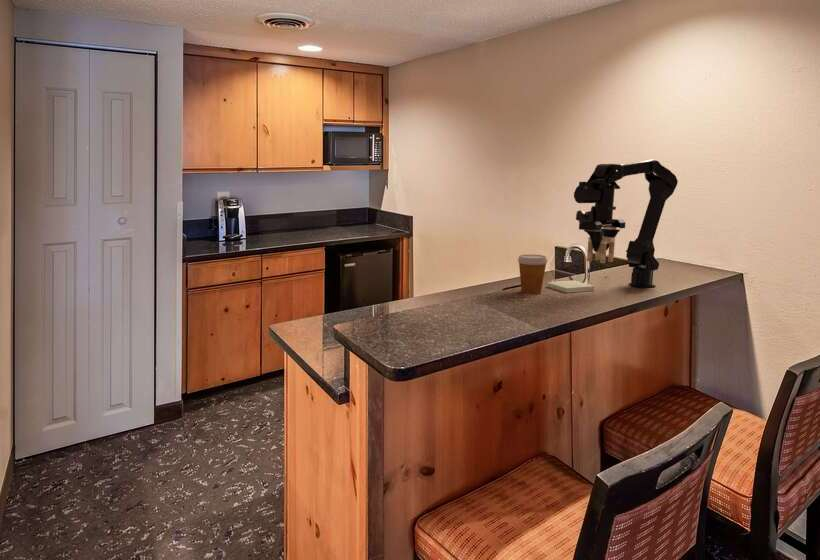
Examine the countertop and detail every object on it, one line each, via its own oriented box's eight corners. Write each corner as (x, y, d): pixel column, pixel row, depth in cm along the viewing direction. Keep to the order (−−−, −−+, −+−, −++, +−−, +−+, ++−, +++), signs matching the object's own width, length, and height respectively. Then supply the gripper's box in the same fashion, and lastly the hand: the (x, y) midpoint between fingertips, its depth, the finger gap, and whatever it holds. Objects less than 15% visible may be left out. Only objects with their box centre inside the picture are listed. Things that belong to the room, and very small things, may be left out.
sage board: (573, 284, 199) (573, 280, 199) (594, 290, 189) (594, 286, 189) (547, 286, 196) (547, 282, 195) (566, 292, 185) (566, 288, 185)
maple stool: (596, 259, 192) (598, 236, 190) (613, 261, 187) (615, 237, 186) (586, 261, 188) (588, 237, 186) (603, 263, 183) (605, 238, 182)
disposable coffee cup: (544, 289, 190) (545, 254, 188) (548, 295, 181) (549, 258, 179) (515, 289, 191) (516, 254, 189) (517, 295, 182) (519, 258, 180)
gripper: (597, 201, 196) (594, 246, 199) (566, 202, 184) (563, 250, 187) (627, 203, 188) (624, 249, 190) (596, 204, 176) (593, 254, 179)
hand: (600, 250), depth 187 cm, fingers closed on maple stool, 6 cm apart
